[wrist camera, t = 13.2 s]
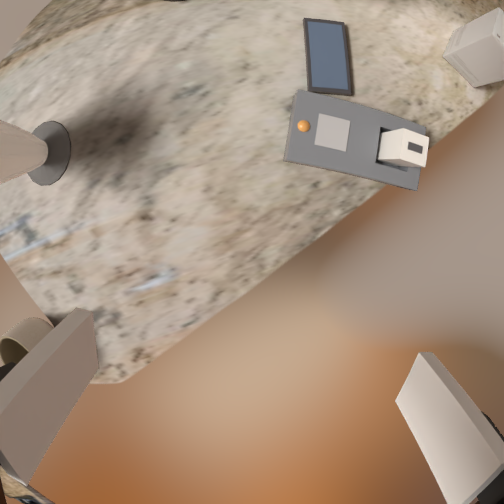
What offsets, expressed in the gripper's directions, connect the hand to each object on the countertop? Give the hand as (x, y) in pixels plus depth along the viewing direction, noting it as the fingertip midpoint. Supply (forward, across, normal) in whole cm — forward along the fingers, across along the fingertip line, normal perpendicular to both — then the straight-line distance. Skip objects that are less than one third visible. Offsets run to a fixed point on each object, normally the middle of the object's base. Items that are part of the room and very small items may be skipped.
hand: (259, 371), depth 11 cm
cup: (+35, -37, +7) cm, 51 cm away
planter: (+35, -39, -30) cm, 60 cm away
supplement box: (+35, +34, +38) cm, 62 cm away
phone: (+35, +7, +27) cm, 45 cm away
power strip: (+35, +13, +14) cm, 40 cm away
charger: (+34, +18, +14) cm, 41 cm away
